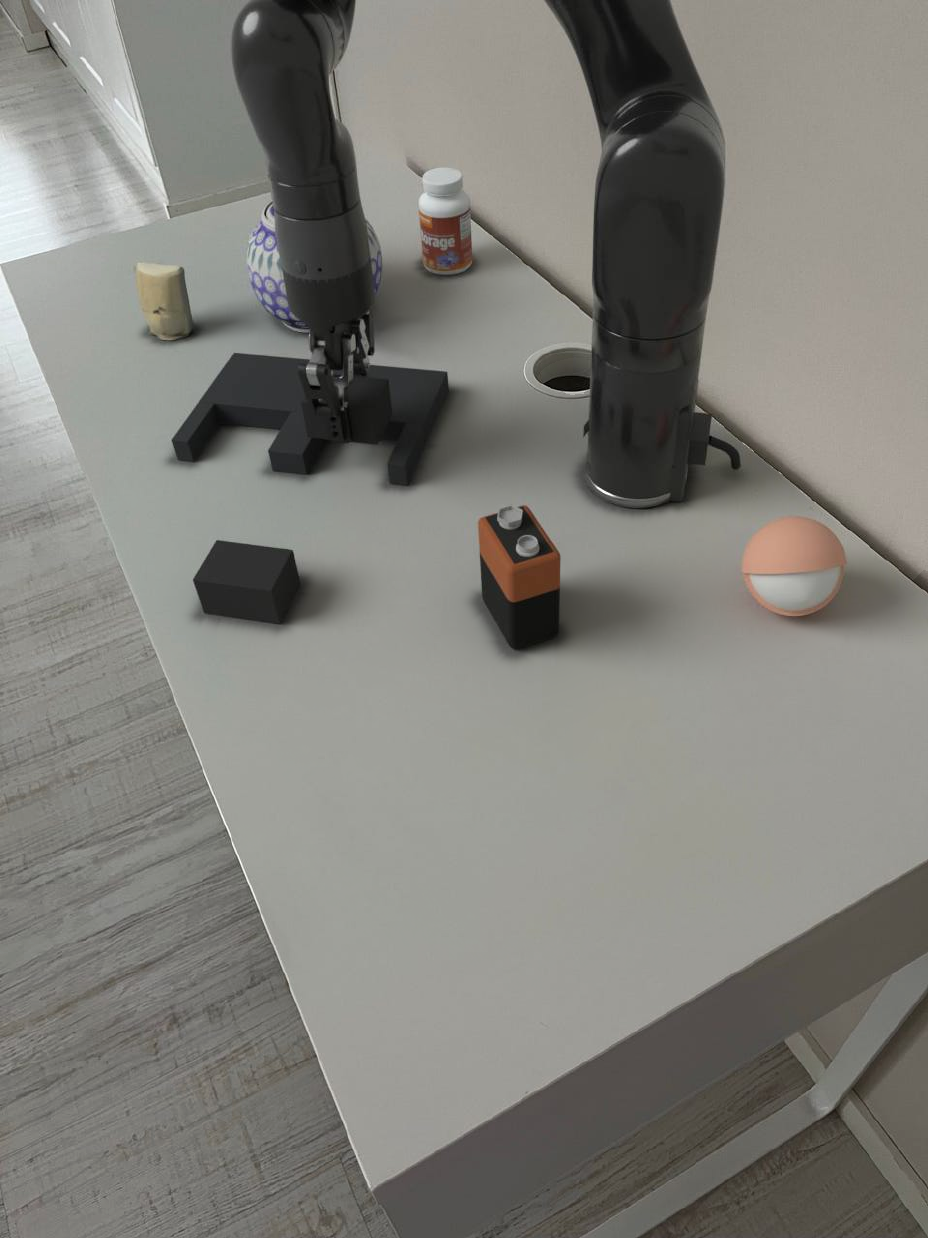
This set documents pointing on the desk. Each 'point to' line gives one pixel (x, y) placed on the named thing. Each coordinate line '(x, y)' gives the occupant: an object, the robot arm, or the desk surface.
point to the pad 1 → (247, 581)
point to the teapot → (269, 271)
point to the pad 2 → (358, 411)
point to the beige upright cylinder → (164, 300)
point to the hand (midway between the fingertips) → (350, 422)
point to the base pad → (273, 401)
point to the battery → (519, 575)
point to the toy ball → (794, 565)
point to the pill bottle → (445, 222)
